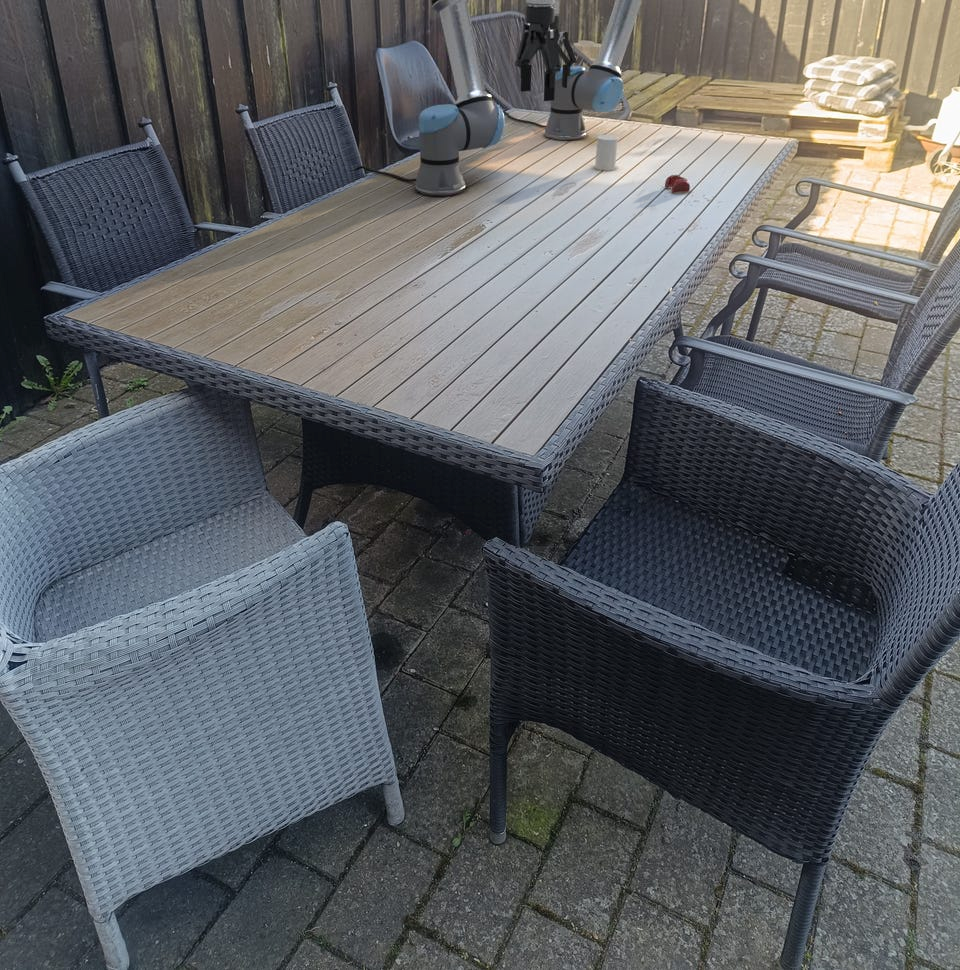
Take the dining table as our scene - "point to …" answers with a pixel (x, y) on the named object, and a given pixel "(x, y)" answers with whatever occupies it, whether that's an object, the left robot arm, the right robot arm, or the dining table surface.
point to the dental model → (677, 183)
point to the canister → (606, 152)
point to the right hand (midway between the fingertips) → (544, 88)
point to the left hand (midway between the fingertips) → (537, 95)
